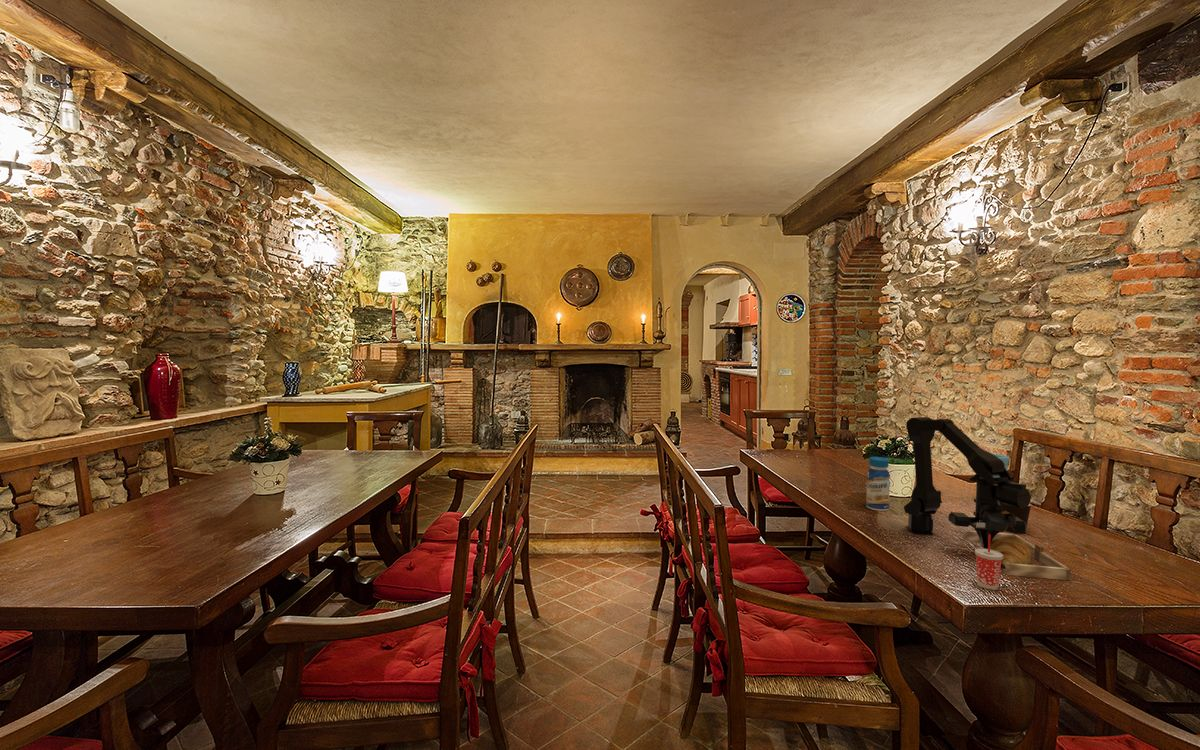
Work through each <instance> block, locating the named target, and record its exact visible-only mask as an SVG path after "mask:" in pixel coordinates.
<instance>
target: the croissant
mask: <svg viewBox="0 0 1200 750" xmlns="http://www.w3.org/2000/svg"><path fill="white" fill-rule="evenodd" d="M990 550H994V551H997V552H1000V553H1001V554H1003V559H1002V561H1001V565H1002V566H1003V567H1005V563H1013V564H1025V565H1031V564H1030V563H1031V561H1032V559H1031V558H1032V556H1031V554H1030V551H1029V548H1028V546H1027V545H1026V544H1025V543H1024V542H1023V541H1022V540H1020V539H1018V538H1017V537H1012V536H1004V537H998V538H996V539H994V540H992V542H991V544H990Z"/></svg>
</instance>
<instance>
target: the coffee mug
mask: <svg viewBox="0 0 1200 750" xmlns="http://www.w3.org/2000/svg"><path fill="white" fill-rule="evenodd" d="M999 504H1000V505H1001V510H1002V513H1006V514H1007V513H1008V514H1014V515H1015V516H1016V517H1018V518H1019V519H1021V520H1023V521H1024V522H1025V523H1026V525H1027V526H1028V523H1029V522H1028V521H1029V516H1030V512H1031V507H1032V504H1031V502H1030V503H1029V505H1028V506H1027V507H1026V508H1019V507H1016V506H1012V505H1008V504H1004V503H1001V502H1000V501H999ZM1006 533H1009V534H1017V535H1024V534H1026V533H1027V531H1015V530H1014V529H1013V528H1012V527H1010V526H1008V527H1007V531H1006Z"/></svg>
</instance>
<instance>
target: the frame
mask: <svg viewBox="0 0 1200 750" xmlns="http://www.w3.org/2000/svg"><path fill="white" fill-rule="evenodd" d="M1004 536H1012V537H1017V538H1018V539H1020V540H1022V541H1023V542H1024V543H1025V544H1026V545H1027V546H1028V548H1029V551H1030V554H1031V558H1032V559H1034V560H1036V561H1038V562H1039V563H1040V564H1042V565H1034V564H1026V565H1025V564H1013V563H1005V566H1004V567H1005V568H1004V569H1005V570H1004V573H1005V575H1006V576H1007V575H1008V576H1017V577H1018V576H1019V577H1029V578H1037V579H1038V578H1039V579H1051V580H1060V581H1061V580H1062V581H1071V577H1072V574H1071V573H1072V570H1071V568H1069V567H1068V566H1066V565H1064V564H1063V563H1061V562H1059V561H1058V560H1056V559H1055V558H1053V557H1052V556H1051V555H1049V554H1047V553H1046V552H1045V551H1044V549H1045V548H1044V546H1042V545H1041V544H1037V543H1036V544H1032V543H1031V542H1029V541H1027V540H1026V539H1024V538H1023V537H1021V536H1020V535H1019V534H1015V533H1007V532H1006V533H1005V532H999V533H998V534H996V535H995V537H994V538H993V540H994V539H996V538H998V537H1004ZM963 540H964V541H967V542H968V541H969V542H980V539H979V537H978V534H977V532H976V530H963Z"/></svg>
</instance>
